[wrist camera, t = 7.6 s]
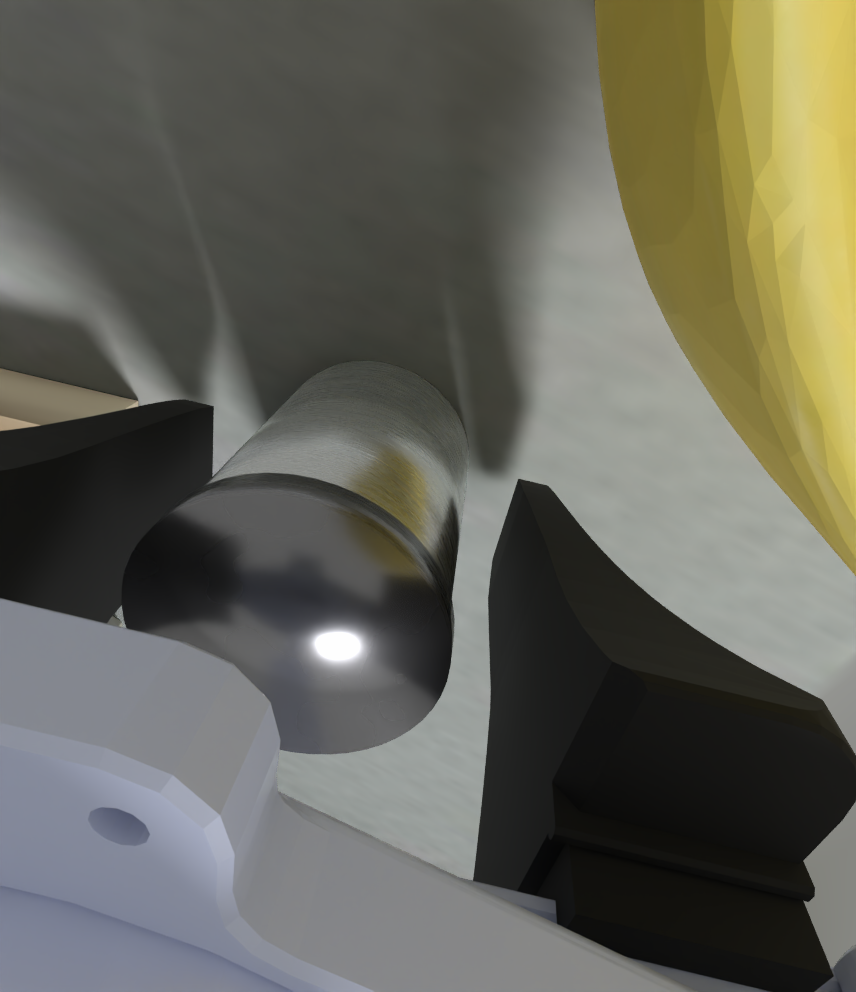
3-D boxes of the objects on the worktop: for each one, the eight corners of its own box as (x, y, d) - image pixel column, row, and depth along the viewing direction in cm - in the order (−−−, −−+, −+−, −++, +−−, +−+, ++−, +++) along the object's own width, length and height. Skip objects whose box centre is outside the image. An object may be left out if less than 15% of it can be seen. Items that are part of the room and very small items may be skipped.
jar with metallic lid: (448, 559, 14) (415, 782, 9) (268, 515, 14) (129, 713, 9) (496, 384, 12) (490, 546, 7) (283, 333, 12) (109, 455, 7)
